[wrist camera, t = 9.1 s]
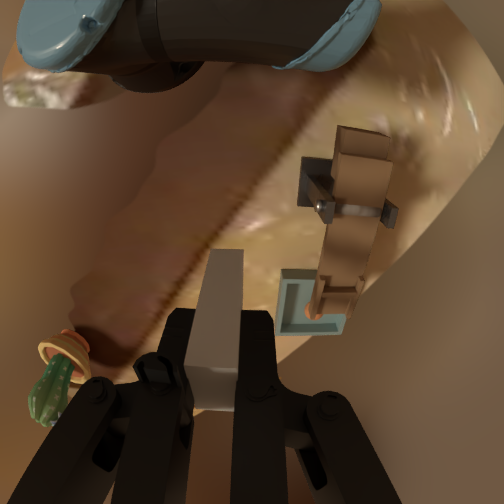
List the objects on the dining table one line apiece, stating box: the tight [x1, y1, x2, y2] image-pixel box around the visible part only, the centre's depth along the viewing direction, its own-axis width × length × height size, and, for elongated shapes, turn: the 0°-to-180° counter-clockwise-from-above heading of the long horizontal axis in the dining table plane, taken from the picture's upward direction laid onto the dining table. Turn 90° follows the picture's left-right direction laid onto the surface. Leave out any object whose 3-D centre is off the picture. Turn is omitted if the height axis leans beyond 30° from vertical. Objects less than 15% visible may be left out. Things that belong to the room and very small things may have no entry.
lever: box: [308, 125, 393, 320], centre depth 32 cm, size 24×6×5 cm, turn 178°
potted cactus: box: [28, 329, 91, 427], centre depth 45 cm, size 15×15×25 cm
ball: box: [304, 302, 323, 320], centre depth 46 cm, size 4×4×4 cm
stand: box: [297, 157, 398, 229], centre depth 32 cm, size 7×10×12 cm
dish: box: [274, 269, 346, 336], centre depth 46 cm, size 13×13×3 cm
